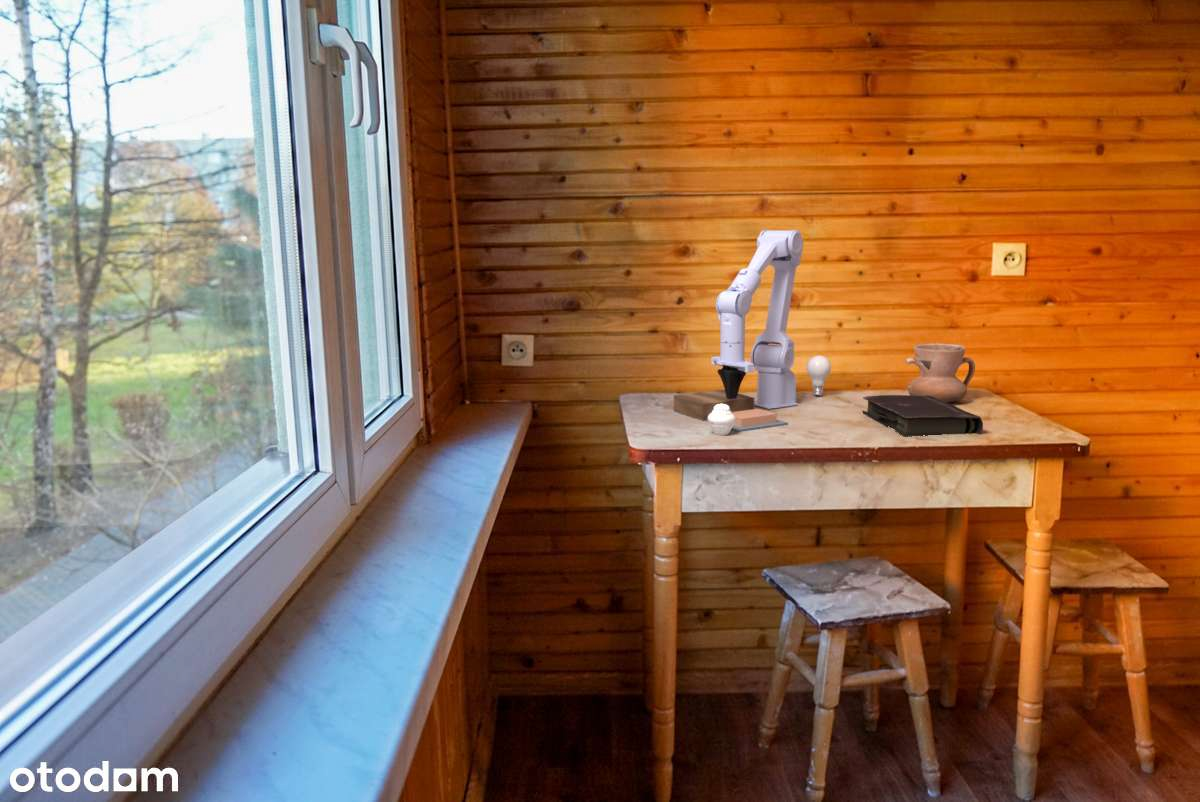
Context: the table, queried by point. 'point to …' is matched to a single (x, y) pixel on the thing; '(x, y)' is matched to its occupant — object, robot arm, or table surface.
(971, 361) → the ceramic jug
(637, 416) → the table surface
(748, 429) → the mat
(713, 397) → the board
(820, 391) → the lightbulb
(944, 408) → the diary
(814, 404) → the table surface
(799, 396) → the table surface
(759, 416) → the block
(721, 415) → the muffin
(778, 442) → the table surface
